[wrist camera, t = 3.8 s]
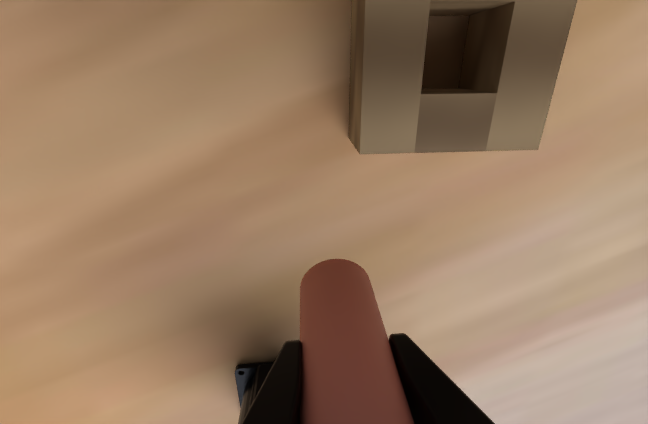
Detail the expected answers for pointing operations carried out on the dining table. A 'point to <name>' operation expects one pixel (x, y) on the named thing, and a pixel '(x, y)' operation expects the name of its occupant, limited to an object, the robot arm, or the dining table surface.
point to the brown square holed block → (475, 81)
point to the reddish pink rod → (346, 351)
